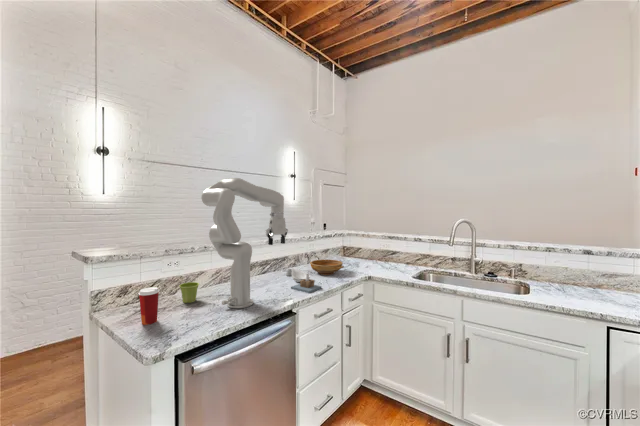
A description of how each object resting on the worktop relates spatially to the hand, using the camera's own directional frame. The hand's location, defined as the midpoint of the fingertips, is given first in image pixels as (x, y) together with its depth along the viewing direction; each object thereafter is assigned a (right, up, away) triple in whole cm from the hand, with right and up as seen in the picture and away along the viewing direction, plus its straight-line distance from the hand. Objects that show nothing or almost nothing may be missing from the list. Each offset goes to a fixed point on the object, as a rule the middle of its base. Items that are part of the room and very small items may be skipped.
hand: (276, 244), depth 167 cm
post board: (+18, -27, +1) cm, 32 cm away
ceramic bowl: (+31, -26, +40) cm, 57 cm away
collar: (+18, -26, +2) cm, 31 cm away
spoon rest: (+10, -27, +22) cm, 36 cm away
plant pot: (-42, -28, -22) cm, 55 cm away
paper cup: (-47, -28, -48) cm, 73 cm away
